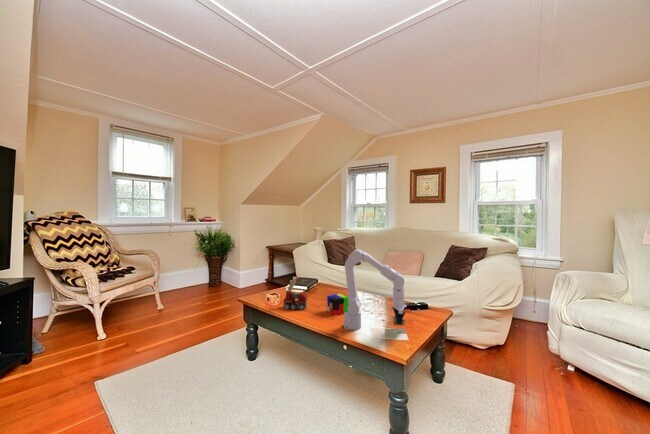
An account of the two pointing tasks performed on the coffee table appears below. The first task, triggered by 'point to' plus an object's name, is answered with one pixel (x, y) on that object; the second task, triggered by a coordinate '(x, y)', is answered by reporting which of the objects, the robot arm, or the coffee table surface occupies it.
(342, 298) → the puzzle toy
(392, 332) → the sage brick
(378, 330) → the board
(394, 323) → the walnut brick
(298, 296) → the toy fire truck
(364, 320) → the coffee table surface
